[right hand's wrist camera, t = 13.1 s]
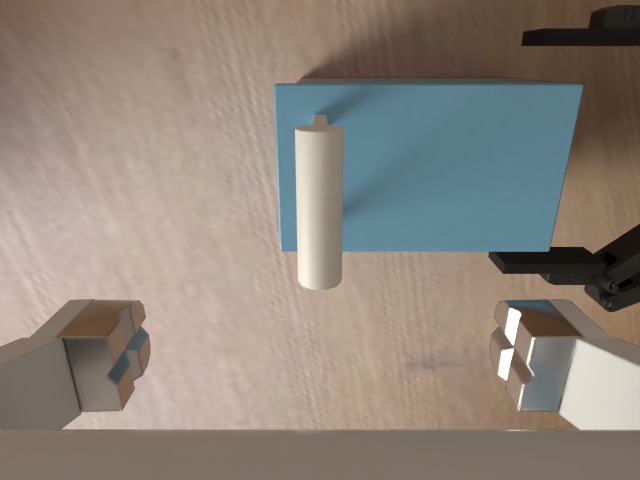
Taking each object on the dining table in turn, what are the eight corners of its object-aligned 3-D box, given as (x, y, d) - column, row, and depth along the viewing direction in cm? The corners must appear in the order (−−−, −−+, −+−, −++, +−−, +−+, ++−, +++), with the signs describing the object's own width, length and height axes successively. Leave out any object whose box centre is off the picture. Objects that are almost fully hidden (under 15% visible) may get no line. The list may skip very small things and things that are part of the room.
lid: (281, 244, 27) (266, 317, 19) (276, 83, 23) (254, 93, 16) (541, 244, 27) (628, 317, 19) (573, 83, 23) (695, 93, 16)
